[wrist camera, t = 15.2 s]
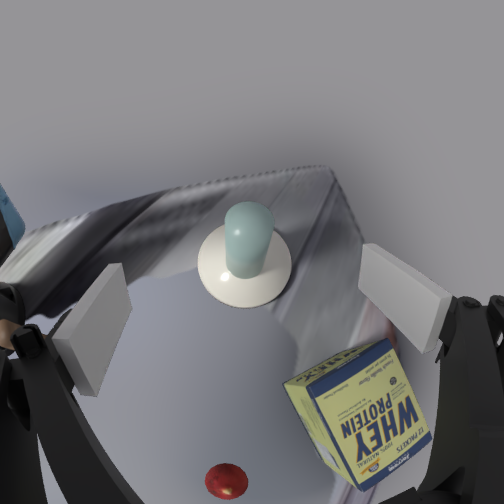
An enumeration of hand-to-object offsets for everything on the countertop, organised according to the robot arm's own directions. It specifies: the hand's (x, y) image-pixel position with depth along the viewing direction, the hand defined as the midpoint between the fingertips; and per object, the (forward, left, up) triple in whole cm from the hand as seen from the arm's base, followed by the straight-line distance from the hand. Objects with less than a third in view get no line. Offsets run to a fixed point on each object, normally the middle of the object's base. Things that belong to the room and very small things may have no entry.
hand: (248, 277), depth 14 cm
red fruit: (-2, -21, -28) cm, 36 cm away
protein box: (+14, -11, -28) cm, 34 cm away
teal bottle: (+1, +13, -27) cm, 30 cm away
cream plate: (+1, +13, -28) cm, 31 cm away
